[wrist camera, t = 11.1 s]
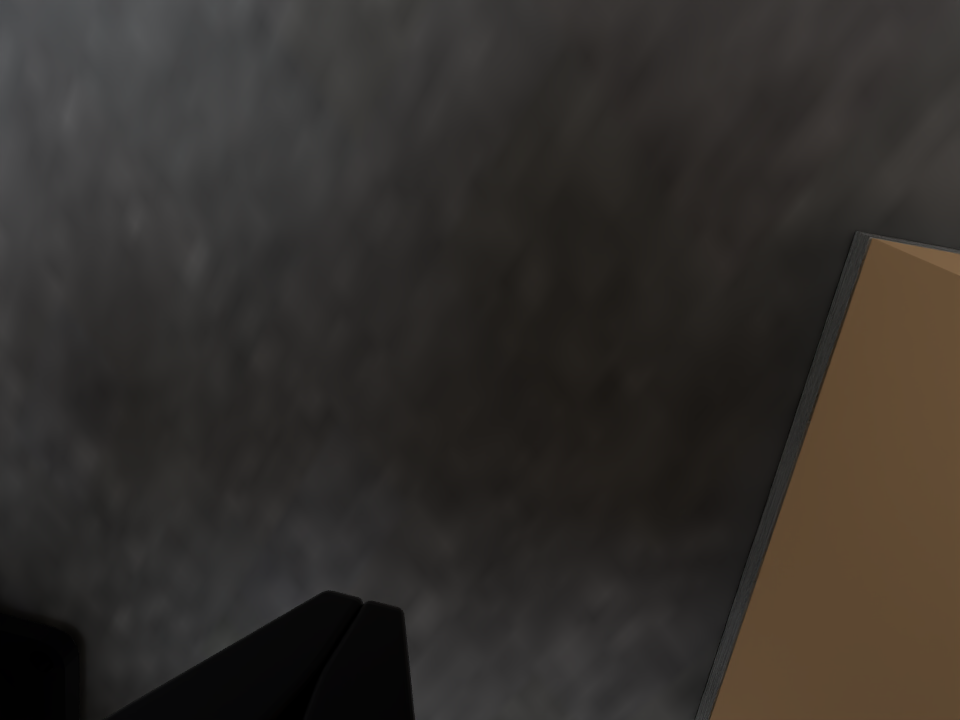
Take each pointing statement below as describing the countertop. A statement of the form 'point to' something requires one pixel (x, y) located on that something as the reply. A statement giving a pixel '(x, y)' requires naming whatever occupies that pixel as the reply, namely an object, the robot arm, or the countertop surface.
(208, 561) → the countertop surface
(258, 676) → the robot arm
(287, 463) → the countertop surface
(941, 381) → the tan block
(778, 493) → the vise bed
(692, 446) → the countertop surface
